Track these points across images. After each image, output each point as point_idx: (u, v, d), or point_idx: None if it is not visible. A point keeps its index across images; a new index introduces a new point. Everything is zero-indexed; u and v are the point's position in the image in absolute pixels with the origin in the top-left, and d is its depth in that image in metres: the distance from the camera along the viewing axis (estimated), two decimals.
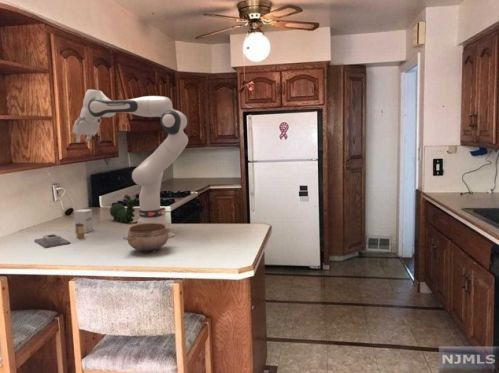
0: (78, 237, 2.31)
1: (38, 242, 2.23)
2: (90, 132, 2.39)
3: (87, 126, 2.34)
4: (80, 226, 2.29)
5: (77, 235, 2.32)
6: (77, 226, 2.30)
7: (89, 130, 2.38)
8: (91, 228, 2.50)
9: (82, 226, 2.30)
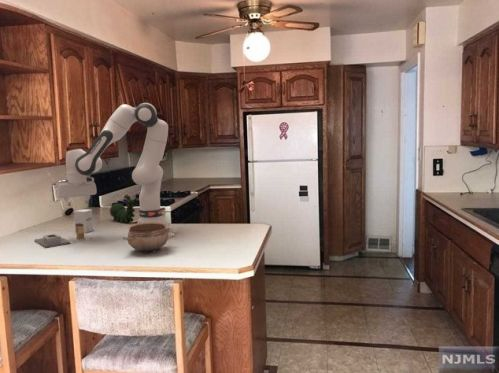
0: (78, 237, 2.31)
1: (38, 242, 2.23)
2: (83, 193, 2.30)
3: (74, 188, 2.27)
4: (80, 226, 2.29)
5: (77, 235, 2.32)
6: (77, 226, 2.30)
7: (80, 192, 2.29)
8: (91, 228, 2.50)
9: (82, 226, 2.30)
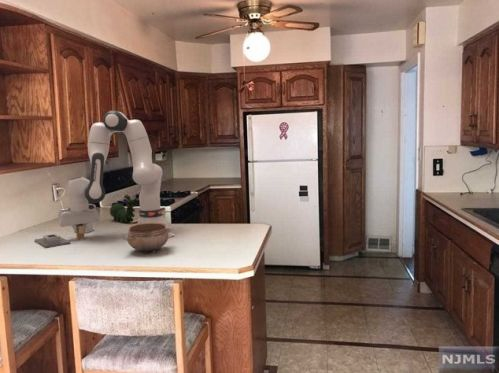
0: (78, 237, 2.31)
1: (38, 242, 2.23)
2: (85, 221, 2.31)
3: (76, 215, 2.29)
4: (80, 226, 2.29)
5: (77, 235, 2.32)
6: (77, 226, 2.30)
7: (82, 219, 2.31)
8: (91, 228, 2.50)
9: (82, 226, 2.30)
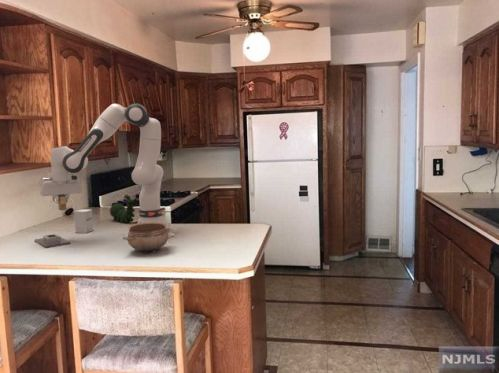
0: (60, 208, 2.25)
1: (38, 242, 2.23)
2: (67, 191, 2.25)
3: (58, 186, 2.23)
4: (62, 196, 2.23)
5: (59, 206, 2.26)
6: (59, 196, 2.24)
7: (65, 190, 2.25)
8: (91, 228, 2.50)
9: (64, 197, 2.24)
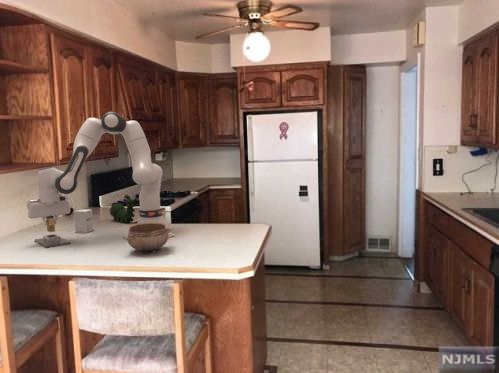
0: (48, 229, 2.23)
1: (38, 242, 2.23)
2: (55, 213, 2.23)
3: (46, 207, 2.20)
4: (50, 218, 2.21)
5: (47, 227, 2.24)
6: (47, 218, 2.22)
7: (53, 211, 2.22)
8: (91, 228, 2.50)
9: (52, 218, 2.22)
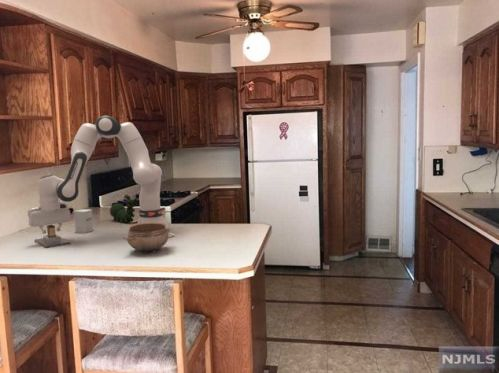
0: None
1: (38, 242, 2.23)
2: (56, 220, 2.24)
3: (47, 215, 2.21)
4: (51, 228, 2.22)
5: None
6: (48, 228, 2.23)
7: (53, 219, 2.23)
8: (91, 228, 2.50)
9: (53, 228, 2.22)
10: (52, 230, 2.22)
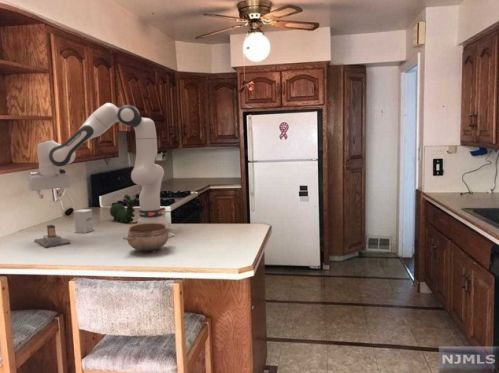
0: None
1: (38, 242, 2.23)
2: (56, 185, 2.26)
3: (47, 180, 2.23)
4: (51, 228, 2.22)
5: None
6: (48, 228, 2.23)
7: (53, 184, 2.25)
8: (91, 228, 2.50)
9: (53, 228, 2.22)
10: (52, 230, 2.22)
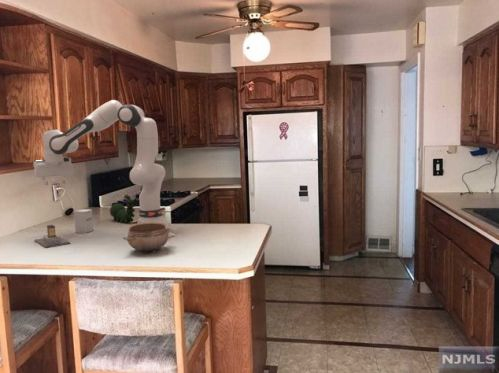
0: None
1: (38, 242, 2.23)
2: (60, 173, 2.37)
3: (51, 167, 2.34)
4: (51, 228, 2.22)
5: None
6: (48, 228, 2.23)
7: (57, 171, 2.36)
8: (91, 228, 2.50)
9: (53, 228, 2.22)
10: (52, 230, 2.22)
